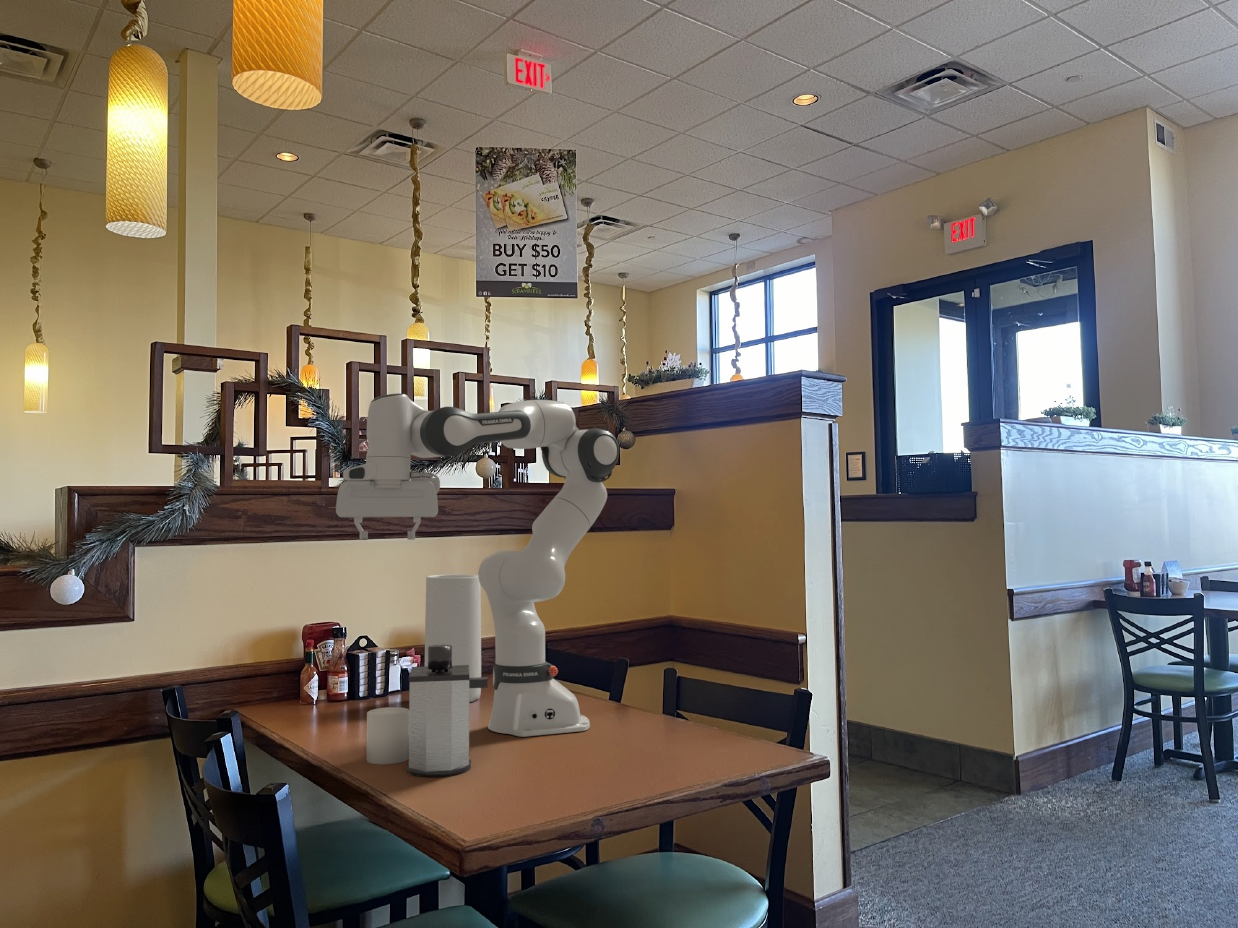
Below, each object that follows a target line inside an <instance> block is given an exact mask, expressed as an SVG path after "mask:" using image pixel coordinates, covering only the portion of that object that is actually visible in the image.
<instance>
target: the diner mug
mask: <svg viewBox="0 0 1238 928" xmlns="http://www.w3.org/2000/svg"><path fill="white" fill-rule="evenodd" d="M365 760H366V762H367V763H369V764H373V765H393V764H398V763H399V764H400V763H403V762H405V761H407V760H409V708H406V707H400V706H399V707H398V706H397V707H396V706H395V707H394V706H393V707H392V706H391V707H389V706H387V707H379V708H375V709H371V710H369V711H367V712H366V759H365Z"/></svg>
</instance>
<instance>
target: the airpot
mask: <svg viewBox="0 0 1238 928" xmlns="http://www.w3.org/2000/svg"><path fill="white" fill-rule="evenodd" d="M409 671H410V672H409V676H408V683H409V697H408V698H409V701H408V702H409V703H408V704H409V707H408V709H409V759H408V763H407V766H406V767H407V770H406V771H407V773H408V774H410V775H412V776H415V777H418V778H419V777H420V778H444V777H446V778H447V777H452V776H458V775H461V774H464V773H466V772H468V771H469V770H470V769H471V768H472V761H471V759H470V702H469V688H481V689H485V688H489V686H488V676H484V677H483V676H481V677H478V678H469V665H454V666H452V668H450V669H445V670H444V672H436V670H430V669H428V666H425V665H424V666H412V667H411V668H410V670H409Z"/></svg>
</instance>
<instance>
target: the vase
mask: <svg viewBox="0 0 1238 928" xmlns="http://www.w3.org/2000/svg"><path fill="white" fill-rule="evenodd" d="M481 588H482V586H481V584H480V582H479V578H478V574H461V573H459V574H458V573H457V574H456V573H455V574H454V573H453V574H449V573H448V574H435V575H433V574H432V575H427V576H426V580H425V618H424V621H425V623H424V624H425V625H424V628H425V630H424V631H425V633H424V666H428V646H432V645H451V646H452V666H454V665H469V678H478V677H482V609H481V608H482V605H481V603H482V599H481V598H482V597H481V596H482V595H481V591H482V589H481ZM481 691H482V688H469V703H472V702H475V701H477V700H478V699H480V697H481Z"/></svg>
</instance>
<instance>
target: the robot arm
mask: <svg viewBox="0 0 1238 928" xmlns="http://www.w3.org/2000/svg"><path fill="white" fill-rule="evenodd" d="M366 419H367V420H366V440H367V443H368V444H367V445H368V446H367V447H368V448H367V453H366V456H365V460H366V461H365V463H364V464H360V465H356V466H354V467H350V468H347V469H344V471H342V477H343V479H344V480H345V481H343V482H342V483H341V484H340V485H339V488H338V491H337V496H336V504H335V505H336V506H335V513H336V514H337V516H338V517H339V518H353V523H354V525H355V527H356V528H357V531H358V532H359V541H367V540H368V539H369V536H368V535H369V532H368V530H364V529H363V527H362V525H361V524H362V523H363V518H412V519H413V520H412V521H413V523H414V526H413V528H412V529H411V530H407V540H410V541H411V540H412V541H413V540H416V531H417V530H418V528H419V526H420V525H421V523H422V521H421V520H422V518H436V516H437V515H438V513H439V504H438V493H439V492H440V489H441V480H440V478H439V477H438V475H436V474H434V472H417V471H416V472H413V471H411V456H414V457H417V458H420V459H430V458H437V457H438V458H439V457H455V456H458V455H461V454H463V453H465V452H466V451H467V450H469V449H470V448H472V447H473V446H475V445H478V444H486V443H494V442H495V443H496V442H500V443H501V444H502V445H503V446H504V447H505V448H508V449H514V450H515V449H516V450H518V449H519V450H527V449H528V450H529V449H536V448H540V450H541V458H542V462H543V465H544V467H545V469H546V470H547V471H548V473H550V474H551V475H553V476H555V477H559V478H563V479H565V481H564V483H563V486H562V488H561V489H560V491H559V492H558V493H557V494H556V495H555V496H554V497H553V499H551V500H550V502H549V503H548V504H547V506H545V508H544V509H543V511H542V512H540V514H539V515H538V516H537V517H536V519H534V521H533V523H532V526H531V531H532V535H531V537H530V539H529V541H528V543H527V544H526V545H525V546H524V548H522V549H520V550H509V549H508V550H507V549H506V550H505V549H504V550H500V551H497V552H494V553H492V554H490V555H488V556H486V557H485V558H484V559H483V560H482V561H481V563H480V565H479V567H478V572H477V575H478V578H479V582H480V584H481V588H482V589H483V590H484V592H485V594H486V596H487V599H488V602H489V606H490V611H491V614H492V619H493V625H494V634H495V639H494V640H495V647H494V648H495V662H494V663H493V668H492V686H493V689H494V693H493V700H492V701H493V703H492V709H491V714H490V719H489V721H488V726H487V728H488V730H490V731H492V732H495V733H500V734H508V735H512V736H516V737H521V738H522V737H525V738H526V737H532V736H533V737H534V736H543V735H545V736H546V735H554V734H564V733H574V732H575V733H576V732H585V731H587V730H588V729H590V728H591V723H590V719H589V718H588V717H586V715H584V714H581V710H580V705H579V702H578V698H577V697H576V695H575V694H574V693H573V692H571V691H570V690H569V689H568V688H566V687H565V686H564V685H562V684H561V682H559V681H557V680H556V679H555V676H557V674H558V672H559V670H558V668H557V667H556V666H555V665H553V664H552V663H549V662H547V661H546V628H545V625H544V622H543V621H542V620H541V619H540V617H539V615H538V613H537V610H536V606H535V603H539V602H545V601H549V600H552V599H555V598H556V597H557V596H558V595H559V594H561V592H562V591H563V589H564V587H565V584H566V583H565V582H566V570H565V566H566V564H567V561H568V559H569V557H570V555H571V554H572V552H573V550H574V549H575V547H576V546H577V545H578V544H579V543H580V541H581V540H582V539H583V538H584V536H585V535H586V533H588V531H589V530H590V529H591V527H592V526H593V524H595V522H596V520H598V519H597V518H598V517H599V516H600V514H601V513H602V510H603V509H604V507H605V504H606V503H607V499H608V491H607V489H606V486H605V484H603V482H606V481H607V480H609V479H610V478H611V476H612V473H613V470H614V468H615V467H616V465H617V463H618V461H619V460H618V459H619V457H620V445H619V443H618V442H619V441H618V440H617V438H616V436H615V435H614V434H612V433H611V432H610V431H608V430H605V429H601V428H589V429H579V428H578V427H577V425H576V415H575V412H574V411H573V409H572V407H570V405H568V404H567V403H565V402H564V401H560V400H559V401H558V400H551V399H550V400H549V399H530V400H529V399H528V400H519V401H515V402H512V403H508V404H505V405H503V406H501V407H500V409H499V410H498V411H493V412H491V411H490V412H480V413H479V412H478V413H471V412H468V411H466V410H464V409H461V408H459V407H455V406H443V407H440V408H438V409H435V410H428V409H425V408H423V407H421V406H420V405H418V404H417V403H416V402H414V401H413V400H412V399H411V398H409V396H408V395H407V394H405V393H399V392H398V393H390V394H384V395H380V396H376V397H375V398H373V399H372V400H371V401H370V402H369V406H368V410H367V417H366ZM360 523H361V524H360Z"/></svg>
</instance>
